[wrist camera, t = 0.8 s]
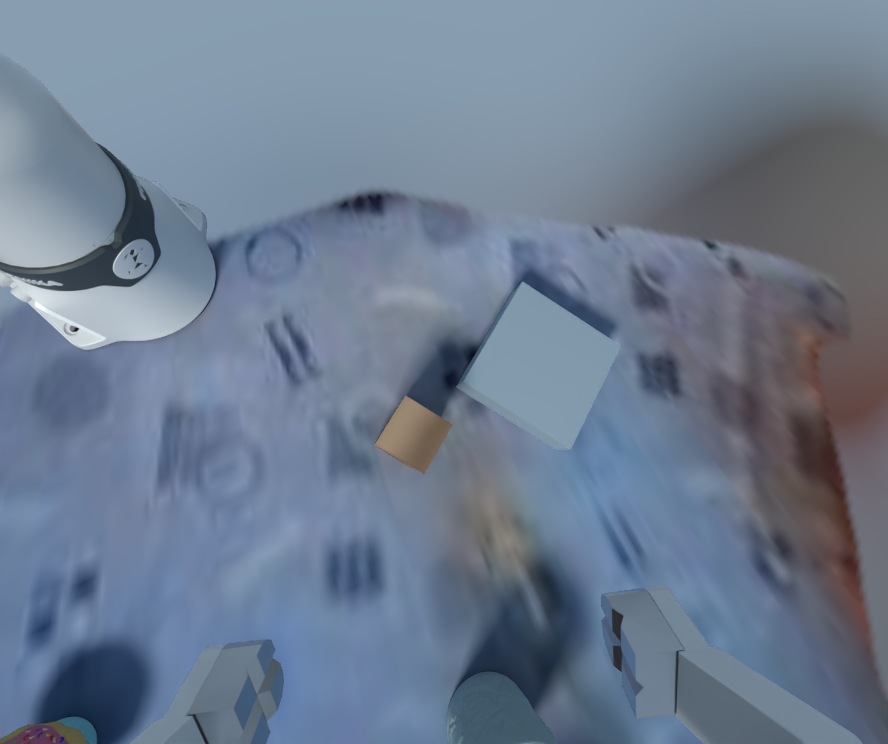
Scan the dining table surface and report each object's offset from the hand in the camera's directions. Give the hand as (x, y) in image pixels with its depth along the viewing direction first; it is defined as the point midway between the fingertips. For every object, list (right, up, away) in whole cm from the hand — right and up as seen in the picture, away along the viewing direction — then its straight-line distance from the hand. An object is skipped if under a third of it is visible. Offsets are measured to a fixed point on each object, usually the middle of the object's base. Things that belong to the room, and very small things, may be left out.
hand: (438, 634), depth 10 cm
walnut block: (-4, -1, +36) cm, 36 cm away
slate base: (+11, +7, +40) cm, 42 cm away
